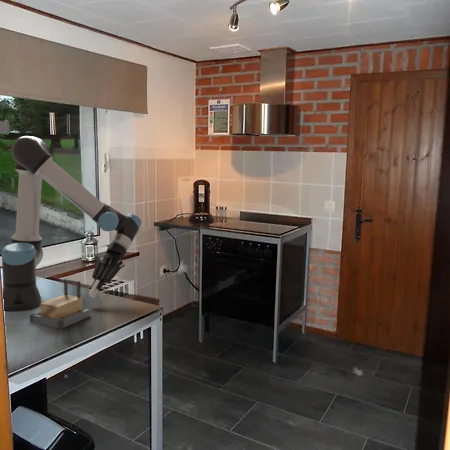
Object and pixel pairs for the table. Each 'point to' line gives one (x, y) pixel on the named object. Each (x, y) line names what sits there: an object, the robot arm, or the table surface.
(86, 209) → the robot arm
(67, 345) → the table surface
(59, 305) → the cart
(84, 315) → the frame
